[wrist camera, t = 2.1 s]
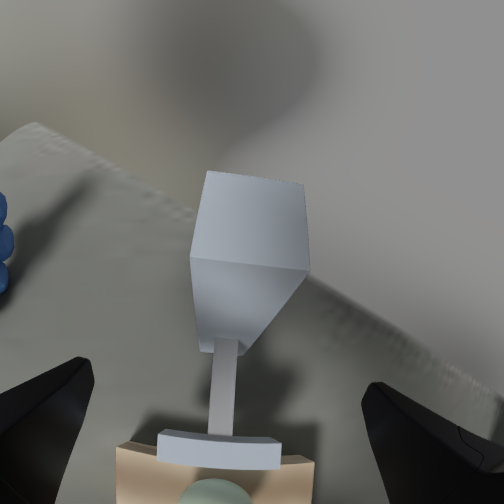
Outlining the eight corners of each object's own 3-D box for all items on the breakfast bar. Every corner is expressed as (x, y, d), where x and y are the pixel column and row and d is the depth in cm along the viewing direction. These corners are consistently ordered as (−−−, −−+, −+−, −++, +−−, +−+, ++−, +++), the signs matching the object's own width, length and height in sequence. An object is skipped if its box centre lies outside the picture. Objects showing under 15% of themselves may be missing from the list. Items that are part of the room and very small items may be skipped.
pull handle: (259, 450, 15) (359, 527, 4) (170, 443, 15) (101, 522, 3) (265, 318, 20) (346, 193, 9) (184, 309, 20) (160, 166, 8)
